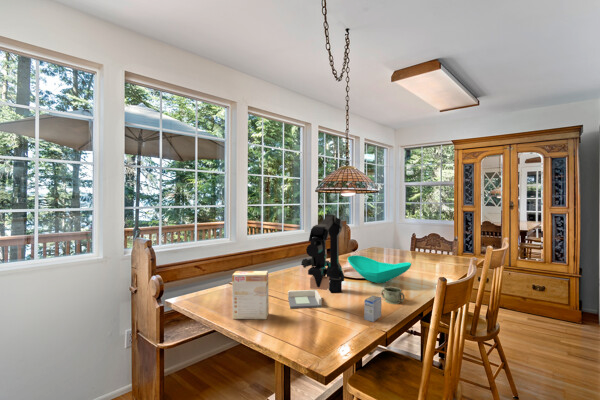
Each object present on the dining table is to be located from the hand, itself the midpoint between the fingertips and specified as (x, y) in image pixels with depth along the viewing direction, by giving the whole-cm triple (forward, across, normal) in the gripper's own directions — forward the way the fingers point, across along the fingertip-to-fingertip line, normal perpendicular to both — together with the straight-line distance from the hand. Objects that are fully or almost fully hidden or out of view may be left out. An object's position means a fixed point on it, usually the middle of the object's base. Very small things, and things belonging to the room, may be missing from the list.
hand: (319, 285), depth 146 cm
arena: (+11, -5, -9) cm, 15 cm away
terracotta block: (+1, 0, 0) cm, 1 cm away
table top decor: (+12, -54, +22) cm, 59 cm away
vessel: (+11, -21, +32) cm, 40 cm away
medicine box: (+11, +4, +25) cm, 28 cm away
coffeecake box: (+11, +19, -26) cm, 34 cm away
